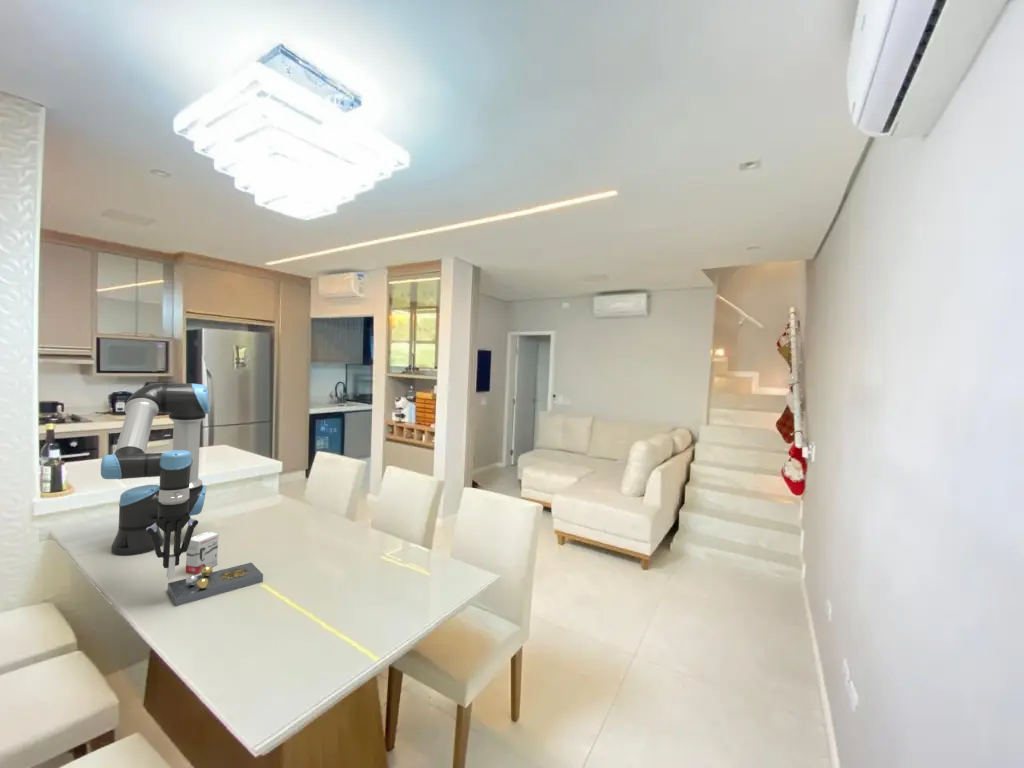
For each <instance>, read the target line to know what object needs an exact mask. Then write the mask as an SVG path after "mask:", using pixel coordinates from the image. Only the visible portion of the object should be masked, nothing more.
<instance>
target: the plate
mask: <svg viewBox="0 0 1024 768" xmlns="http://www.w3.org/2000/svg"><path fill="white" fill-rule="evenodd" d="M196 576H197V577H198V580H200V579H201V578H206V579H208V581H209V584H208V586H207V587H206V588H204V589H199V588H197V586H196V584H197V583H196V584H195V585H193V586H188V585H187V584H186V582H185V581H186V579H187V578H185V579H184V578H183V579H180V580H179V579H178V580H175V581H171V582H168V584H167V592H168V594H169V596H170V598H171V600H172V602H173V603H174V606H175V607H178V606H181V605H185V604H188V603H192V602H196V601H199V600H202V599H206V598H210V597H213V596H217V595H220V594H224V593H228V592H232V591H234V590H238V589H242V588H245V587H249V586H251V585H256V584H260V583H263V581H264V573H263V572H261V570H260V569H258V567H257V566H256V565H254V563H253V562H252V561H251V562H248V563H244V564H241V565H236V566H233V567H232V566H231V567H227V568H224V569H220V570H215V571H212V573H211V574H210V575H209V576H203V575H202V574H200V575H196ZM197 582H198V581H197Z"/></svg>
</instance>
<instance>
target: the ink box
mask: <svg viewBox="0 0 1024 768" xmlns="http://www.w3.org/2000/svg"><path fill="white" fill-rule="evenodd" d="M218 551H219V533H216V532H212V531H205V532H202V533H199V534H197V535H195V536H192V537H191V540H190V543H189V546H188V549H187V551H186V555H185V556H186V558H185V573H187V574H191V575H198V574H201V570H202V569H203V568H204V567H205V566H211V567H212V568H213V567H215V566H217V565H218Z"/></svg>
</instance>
